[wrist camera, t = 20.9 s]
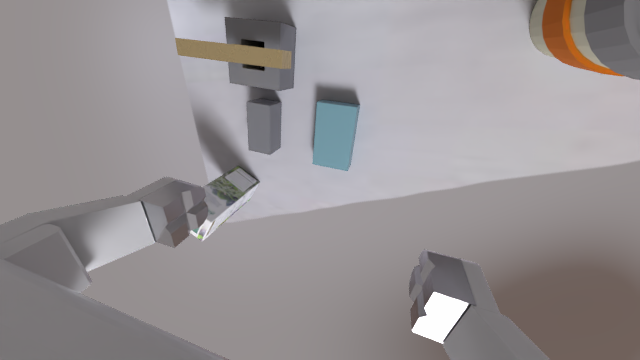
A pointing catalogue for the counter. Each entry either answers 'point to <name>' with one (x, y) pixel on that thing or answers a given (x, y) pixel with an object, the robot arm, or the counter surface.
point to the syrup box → (225, 199)
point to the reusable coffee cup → (590, 34)
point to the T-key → (235, 53)
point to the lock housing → (262, 77)
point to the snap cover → (335, 134)
